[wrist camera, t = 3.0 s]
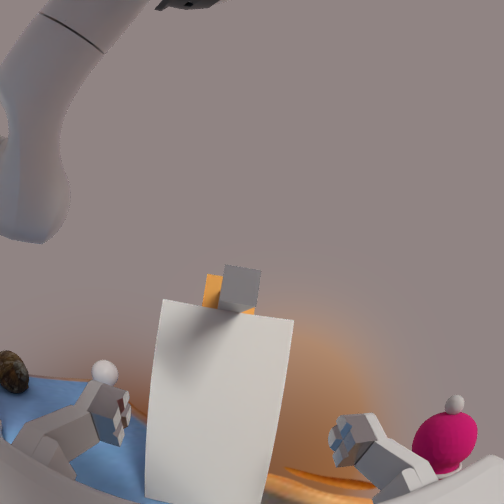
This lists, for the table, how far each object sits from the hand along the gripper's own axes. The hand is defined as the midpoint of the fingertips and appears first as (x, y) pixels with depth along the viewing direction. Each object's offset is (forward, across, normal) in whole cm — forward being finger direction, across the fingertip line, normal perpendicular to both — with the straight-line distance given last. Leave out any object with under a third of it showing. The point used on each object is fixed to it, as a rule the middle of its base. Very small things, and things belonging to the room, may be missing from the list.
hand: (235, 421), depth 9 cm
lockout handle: (+19, 0, +5) cm, 19 cm away
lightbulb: (+32, +24, +43) cm, 58 cm away
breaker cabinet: (+11, 0, +30) cm, 32 cm away
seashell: (+20, +42, +36) cm, 59 cm away
